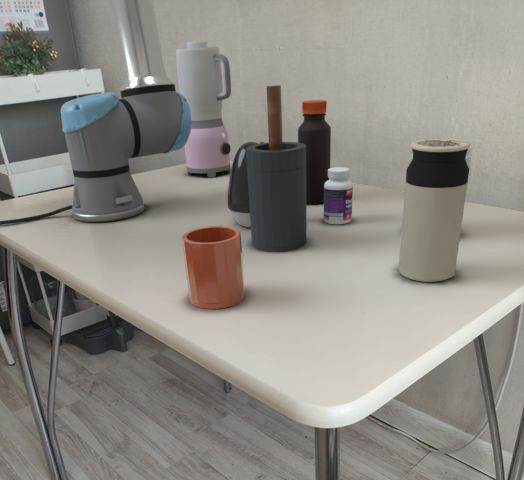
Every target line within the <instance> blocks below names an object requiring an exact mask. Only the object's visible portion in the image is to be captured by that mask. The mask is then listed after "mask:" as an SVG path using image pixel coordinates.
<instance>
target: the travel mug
mask: <svg viewBox="0 0 524 480" xmlns="http://www.w3.org/2000/svg"><path fill="white" fill-rule="evenodd" d="M470 146H472V144H471V142H469V141H468V140H463V139H457V138H428V139H419V140H416V141H413V142H411V143H410V149H411V150H412V151H413V159H412V161H411V160H410V163H409V164H408V166H407V168H406V173H405V185H404V198H403V210H402V219H401V233H400V246H399V255H398V256H399V257H398V258H399V259H398V269H397V270H398V273H399V274H400V275H402V276H403V277H404V278H407V279H409V280H412V281H417V282H424V283H435V282H442V281H445V280H448V279H451V278H452V277H454V276H455V274H456V270H457V269H456V268H457V261H458V255H459V248H460V247H459V246H460V240H461V233H462V227H463V226H462V225H463V220H464V219H463V218H464V211H465V205H466V197H467V191H468V184H469V177H470V170H469V168H468V165H467V162H466V160H465V158H466V154H467V151H468V148H470ZM412 151H411V152H412ZM468 176H469V177H468ZM467 183H468V184H467ZM466 190H467V191H466Z"/></svg>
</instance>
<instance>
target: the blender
mask: <svg viewBox="0 0 524 480" xmlns="http://www.w3.org/2000/svg"><path fill="white" fill-rule="evenodd" d="M175 57H176V58H175V59H176V72H177V73H176V74H177V81H178V90H179V93H180V94H182V95H183V96H184V97H185V98H186V102H187V103H188V104H189V107H190V112H191V131H190V135H189V138H188V140H187V142H186V144H185V145H184V146H183V148H184V154H185V155H184V156H185V161H186V172H187V176H191V174H206V175H207V178H216V175H217V173H219V172H224V171H227V173H229V174H230V172H231V168H232V166H231V158H230V153H231V145H230V142H229V141H230V140H229V134H228V130H227V129H226V126H225V124H224V121H223V115H222V114H223V101H224V100H227V99H229V98H230V97H231V95H232V80H231V78H232V77H231V68H230V67H231V66H230V60H229V59H228V57H227V56H226V55H224V54H222V53H220V49H219V47H218V46H210V47H208V42H207V41H206V40H205V41H203V40H202V41H189V42H188V41H187V42H186V48H177V49H176V50H175ZM222 72H223V73H222ZM223 86H224V87H223Z"/></svg>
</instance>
